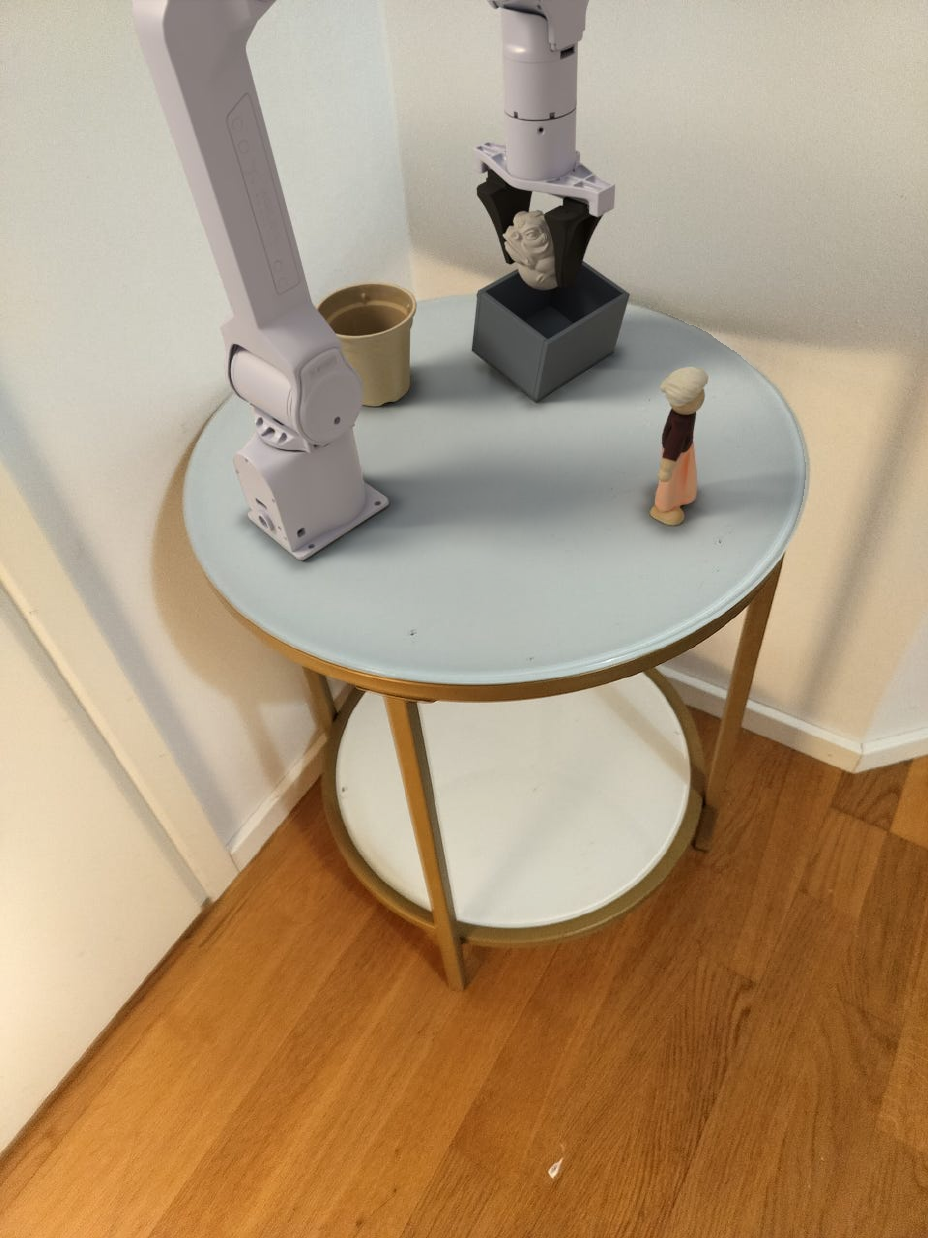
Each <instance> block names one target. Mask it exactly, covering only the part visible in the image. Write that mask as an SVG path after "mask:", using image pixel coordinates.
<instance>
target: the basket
mask: <svg viewBox="0 0 928 1238" xmlns="http://www.w3.org/2000/svg"><path fill="white" fill-rule="evenodd" d="M630 296H631V293H629V292H628V291H626V290H625V289H624V288H622V287H621V286H619V285H618V284H616V283H615V282H614V281H612V280H611V279H610V278H608V277H607V276H605V275H604V274H603V273H601V272H600V271H598V270H597V269H595V268H594V267H592V266H591V265H590V264H588V263H587V262H585V261H584V260H583V262H582V265H581V269H580V273H579V277H578V280H576V281H575V282H573V283H571V284H570V285H568V286H566V287H564V288H562V287H559V286H557V287H555V288H553V289H549V290H538V289H535V288H533V287H531V286H529V285H528V284H527V283H526V282H525V281H524V280H523V279H522V277H521V276H520V274H519V271H518V268H515V270H512V271H510V272H509V273H507V274H505V275H504V276H502V277H500V278H498V279H496V280H494V281H493V282H491V283H489V284H487V285H486V286H484V287H482V288H480V289H479V290H477V293H476V305H475V313H474V322H473V323H474V324H473V331H472V332H473V334H472V341H471V342H472V343H471V352H472V353H474V354H475V355H476V356H477V357H479V358H480V359H481V360H482V361H483V362H485V363H486V364H487V365H489V366H490V367H491V368H492V369H493V370H495V371H496V372H497V373H498V374H500V375H501V376H502V377H503V378H505V379H506V380H507V381H508V382H510V383H511V384H512V385H513V386H515V387H516V388H517V389H518V390H519V391H520V392H522V393H523V394H525V395H526V396H527V397H528V398H530V400H532V401H533V402H534V403H535V404H536V403H538V402H540V401H542V400H543V399H544V398H546V397H548V396H549V395H551V394H552V393H554V392H556V391H557V390H558V389H560V388H561V387H563V386H565V385H567V384H568V383H569V382H571V381H573V380H574V379H576V378H577V377H578V376H580V375H582V374H583V373H585V372H586V371H588V370H589V369H591V368H592V367H594V366H596V365H597V364H599V363H600V362H601V361H603V360H605V359H606V358H608V357H610V356H611V355H612V354H614V353H615V349H616V345H617V340H618V339H619V334H620V330H621V327H622V324H623V320H624V316H625V313H626V310H627V307H628V303H629V299H630Z"/></svg>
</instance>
